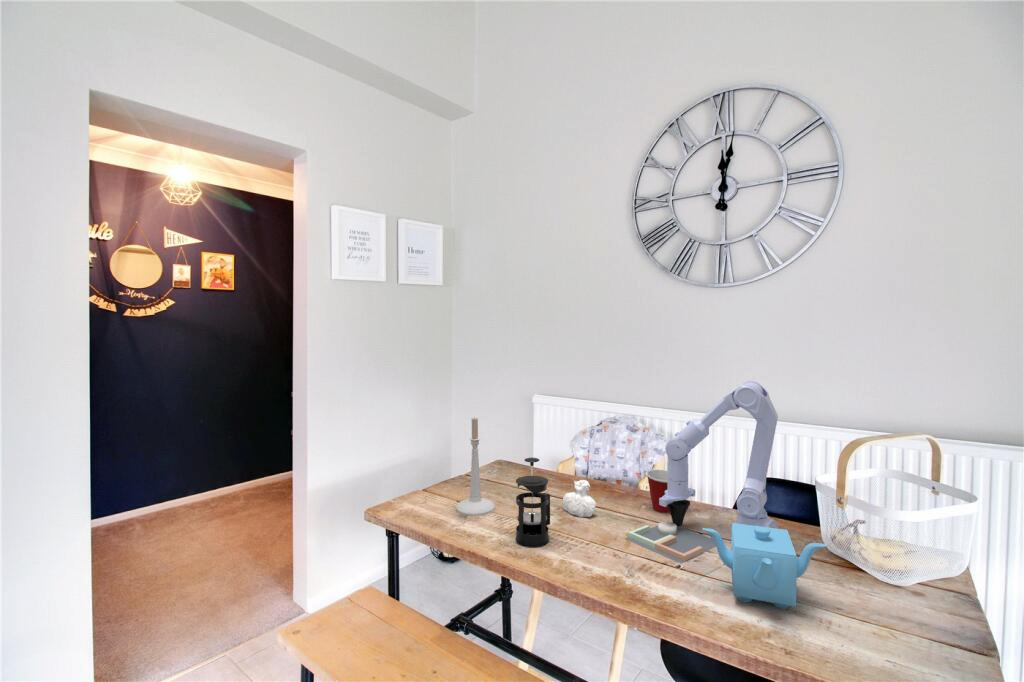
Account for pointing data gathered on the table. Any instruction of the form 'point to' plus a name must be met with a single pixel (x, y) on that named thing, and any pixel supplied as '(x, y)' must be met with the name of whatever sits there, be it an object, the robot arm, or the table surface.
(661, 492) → the plastic cup
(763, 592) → the teakettle
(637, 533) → the mint green c bracket
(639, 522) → the table surface
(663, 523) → the white dome
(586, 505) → the white sheep figurine
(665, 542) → the pink u-shaped rail
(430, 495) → the table surface
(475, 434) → the candlestick
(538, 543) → the french press
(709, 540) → the mat
